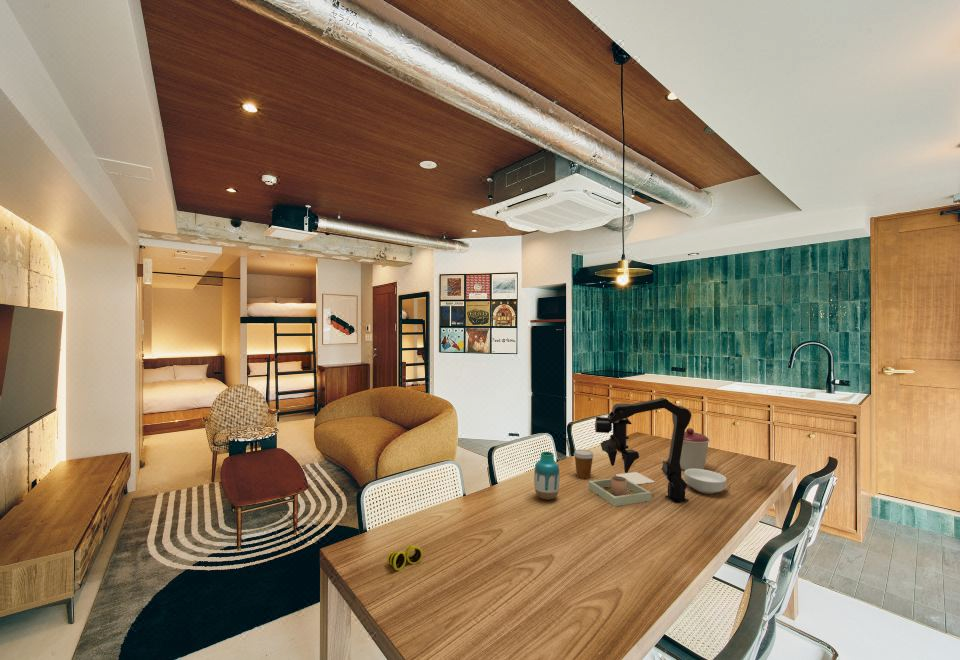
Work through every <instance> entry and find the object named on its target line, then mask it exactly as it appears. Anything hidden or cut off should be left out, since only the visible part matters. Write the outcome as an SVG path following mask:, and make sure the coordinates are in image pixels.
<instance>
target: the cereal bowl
mask: <svg viewBox="0 0 960 660" xmlns="http://www.w3.org/2000/svg"><path fill="white" fill-rule="evenodd" d="M683 473H684V474H683V475H684V481H685V482H686V483H687V485H689V486H690V487H692V488H693V489H694V490H695V491H697V492H699V493H703V494H708V495H709V494H714V493H720V492H722V491H723V490H725V488H726V487H727V481H728V480H727V478H726V476H725V475H723V474H722V473H718V472H717V471H711V470H708V469H705V468H704V469H687V470H684V472H683Z"/></svg>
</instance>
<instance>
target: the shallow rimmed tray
mask: <svg viewBox="0 0 960 660" xmlns="http://www.w3.org/2000/svg"><path fill="white" fill-rule="evenodd" d="M602 487H608V488H611V478H604V479H602V478H601V479H596V480H589V481H588V490H589V489H590V490H589V491H591V490H592V491H593V493H594V492H595V493H596V494H595V493H594V494H595V495H597V494H598V495H599V496H598V495H597V496H598V497H599V498H601V497H602V498H601V499H602V500H604V499H605V500H606V502H607V503H608V502H609V503H608V504H610V505H611V504H612V505H611V506H613V507H621V506H626V505H632V503H634V504H638V503H639V502H640V503H645V501H647V502H651V501H652V492H651V491H650V490H648V489H645V488H644V487H642V486H641V485H636V484H635V483H633V482H631V481H629V480H627V488H628V489H627V490H629V491H630V490H631V491H630V492H632V491H633V492H632V493H630V494H627V495H621V496H614V495H612V494H611V492H609V491H607V490H606V489H605V488H602ZM592 491H591V492H592ZM605 500H604V501H605Z"/></svg>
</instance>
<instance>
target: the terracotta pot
mask: <svg viewBox="0 0 960 660" xmlns="http://www.w3.org/2000/svg"><path fill="white" fill-rule="evenodd" d="M627 490H628V489H627V479H626V478H624V477H620V476H615V475H613V476H611V487H610V494H612V495H614V496H621V495H628V494H627Z"/></svg>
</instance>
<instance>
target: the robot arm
mask: <svg viewBox="0 0 960 660" xmlns="http://www.w3.org/2000/svg"><path fill="white" fill-rule="evenodd" d="M611 408H612V409H611V411H610V412H609V414H608V415H607V417H603V416H595V422H594V430H595V431H594V432H595V433H600V434H601V433H603V434H609V433H610V432H612V434H610V436H609V439H606V440H602V442H600V447H601V451H603V452H606V453H607V456H608V459H609V463H610V465H611V466H612V467H614V466H615V463H616V460H617V459H616V458H617V453H618V452H619V453H621V459H622V461H623V468H624V474H625V473H629V471H630V468H631V467H632V465H633V463H634V462H635V461H636V460H638V459H640V453H639V452H638V451H636V450H635V449H629V448H630V447H629V445H627V440H629V439H630V438H629V436H628V435H627V432H628V431H627V430H628V429H627V427H628V425H632V421H630V420H629V418H630V417H632V416H634V415H636V414H641V413H644V412H645V413H646V412H650V411H655V410H661V409H665V410H667V411H668V412H670V413H671V417H672V424H673V425H672V426H673V427H672V428H673V429H672V433H671V434H672V437H671V441H670V447H669V454H668V458H667V460H666V461H665V460H662V467H661V471H662V474H663V476H664V477H665V478H666V479H667V481H668V484H667V495H665V496H664V498H667V499H669V500H670V501H672V502H674V503H676V504H678V503H679V504H680V503H683V502H684V503H685V502H689V499H688V498H686V489H687V487H688V483H687V482H686V480H685V479H683V478H682V469H681V466H680V458H681V452H682V446H683V439H684V433H685V431H686V430H687V429H688V428H687V427H688V426H689V424H690V423H691V422H690V421H691V419H692V413H691V411H690V409H688V408H686V407H685V406H682V405H676V404H674V403H672V402H671V401H669V399H667V398H665V397H659V398H655V399H651V400H644V401H641V402H636V403H615V404H613V406H612V407H611Z"/></svg>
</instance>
